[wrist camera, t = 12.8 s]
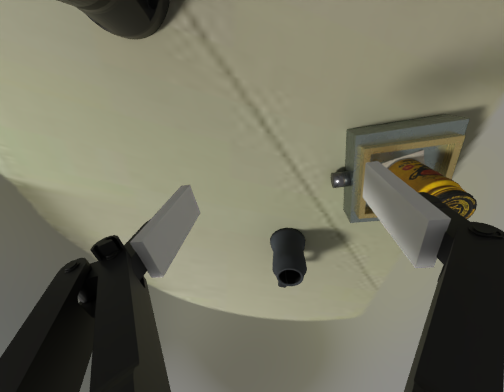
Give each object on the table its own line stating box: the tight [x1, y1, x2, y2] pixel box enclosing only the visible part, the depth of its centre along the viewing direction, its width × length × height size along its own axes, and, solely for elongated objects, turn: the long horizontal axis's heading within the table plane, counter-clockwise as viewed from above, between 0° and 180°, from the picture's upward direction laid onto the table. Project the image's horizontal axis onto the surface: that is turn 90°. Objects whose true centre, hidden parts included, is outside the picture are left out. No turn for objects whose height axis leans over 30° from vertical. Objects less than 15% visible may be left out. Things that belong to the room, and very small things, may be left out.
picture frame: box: [331, 114, 469, 223], centre depth 38 cm, size 18×19×6 cm
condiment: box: [382, 150, 477, 219], centre depth 31 cm, size 7×8×12 cm
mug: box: [270, 228, 307, 288], centre depth 48 cm, size 12×9×11 cm
